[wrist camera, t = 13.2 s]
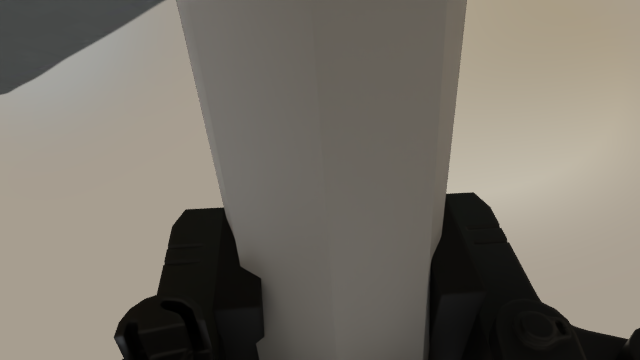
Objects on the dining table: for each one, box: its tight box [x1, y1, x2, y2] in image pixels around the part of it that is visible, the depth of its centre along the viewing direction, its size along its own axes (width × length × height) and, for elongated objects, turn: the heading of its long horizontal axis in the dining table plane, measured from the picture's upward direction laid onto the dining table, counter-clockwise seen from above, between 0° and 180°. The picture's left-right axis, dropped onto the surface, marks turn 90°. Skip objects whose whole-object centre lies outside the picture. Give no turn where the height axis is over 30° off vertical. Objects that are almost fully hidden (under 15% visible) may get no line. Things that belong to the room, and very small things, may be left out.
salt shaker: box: [176, 0, 467, 360], centre depth 9 cm, size 6×6×13 cm
